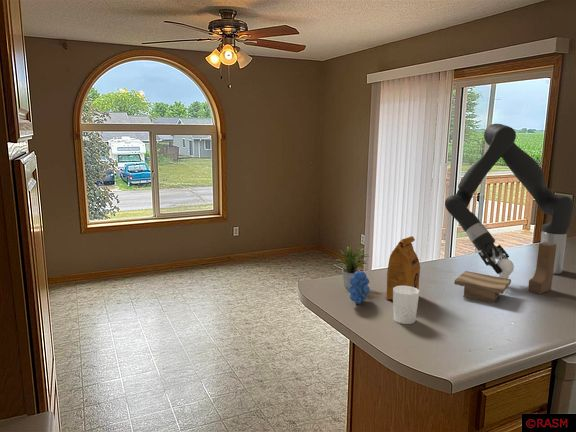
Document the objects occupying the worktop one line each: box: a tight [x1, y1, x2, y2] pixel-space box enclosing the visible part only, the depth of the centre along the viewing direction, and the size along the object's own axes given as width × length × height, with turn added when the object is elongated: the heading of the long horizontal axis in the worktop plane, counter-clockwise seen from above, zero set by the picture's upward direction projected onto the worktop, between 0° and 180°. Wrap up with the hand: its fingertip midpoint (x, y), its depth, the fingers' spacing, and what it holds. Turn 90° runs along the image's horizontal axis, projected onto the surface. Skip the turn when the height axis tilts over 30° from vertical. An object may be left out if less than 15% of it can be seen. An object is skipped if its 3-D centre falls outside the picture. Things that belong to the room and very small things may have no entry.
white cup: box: [392, 286, 420, 325], centre depth 136 cm, size 8×8×10 cm
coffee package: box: [386, 235, 421, 301], centre depth 153 cm, size 10×12×22 cm
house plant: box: [336, 244, 370, 289], centre depth 164 cm, size 14×14×16 cm
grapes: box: [347, 270, 371, 305], centre depth 148 cm, size 12×7×12 cm, turn 139°
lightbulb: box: [496, 258, 515, 279], centre depth 167 cm, size 6×6×11 cm
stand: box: [453, 270, 512, 303], centre depth 157 cm, size 14×16×6 cm
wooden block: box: [527, 242, 557, 295], centre depth 162 cm, size 9×4×18 cm, turn 125°
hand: (505, 270), depth 167 cm, fingers open, 8 cm apart
